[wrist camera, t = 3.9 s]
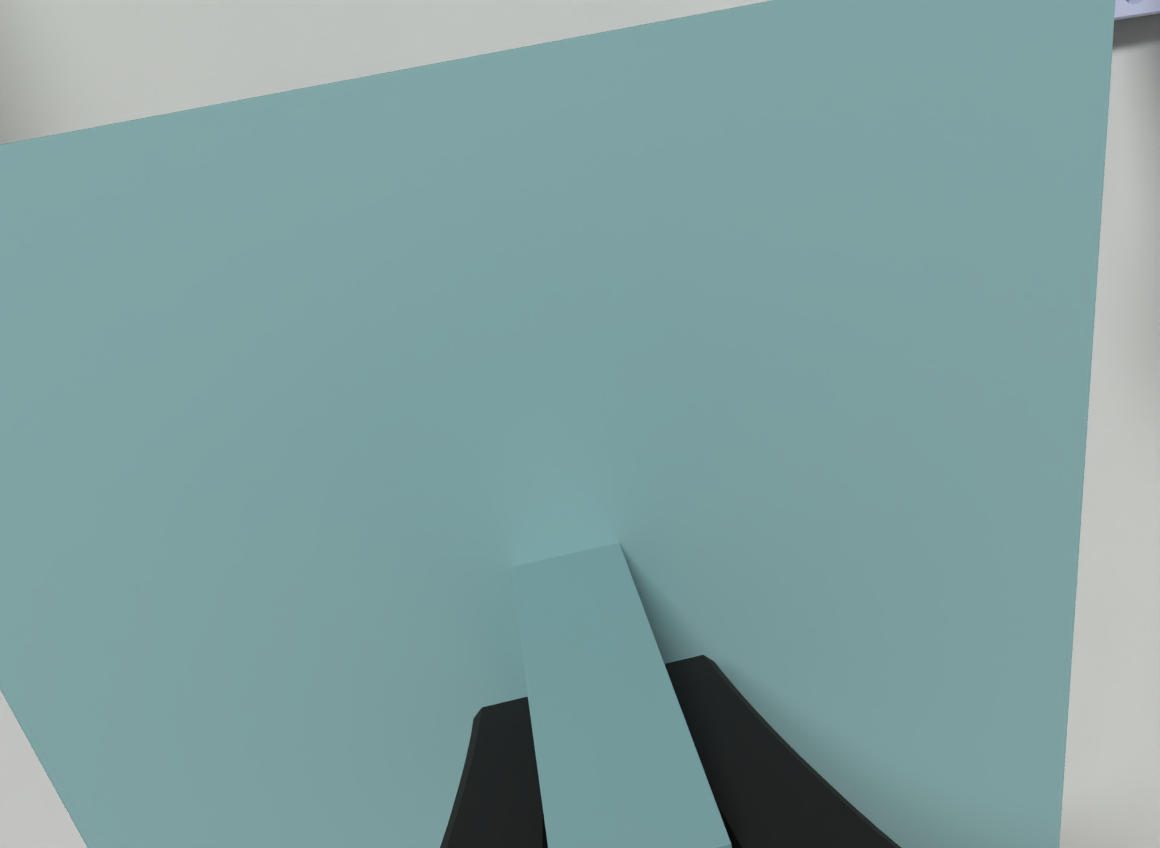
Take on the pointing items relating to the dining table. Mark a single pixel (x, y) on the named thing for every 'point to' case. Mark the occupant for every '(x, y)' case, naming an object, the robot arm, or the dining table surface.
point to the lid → (562, 429)
